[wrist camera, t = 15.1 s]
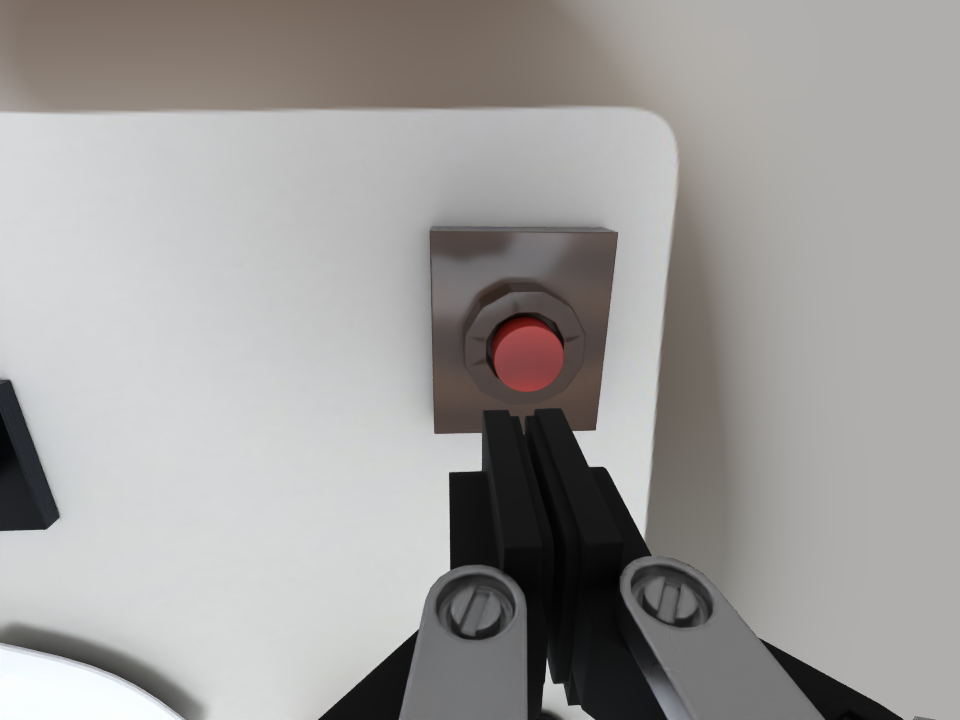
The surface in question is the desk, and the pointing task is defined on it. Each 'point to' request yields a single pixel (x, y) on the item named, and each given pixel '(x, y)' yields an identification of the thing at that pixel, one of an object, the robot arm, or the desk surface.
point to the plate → (69, 690)
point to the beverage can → (544, 717)
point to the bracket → (21, 472)
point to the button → (527, 354)
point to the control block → (512, 294)
